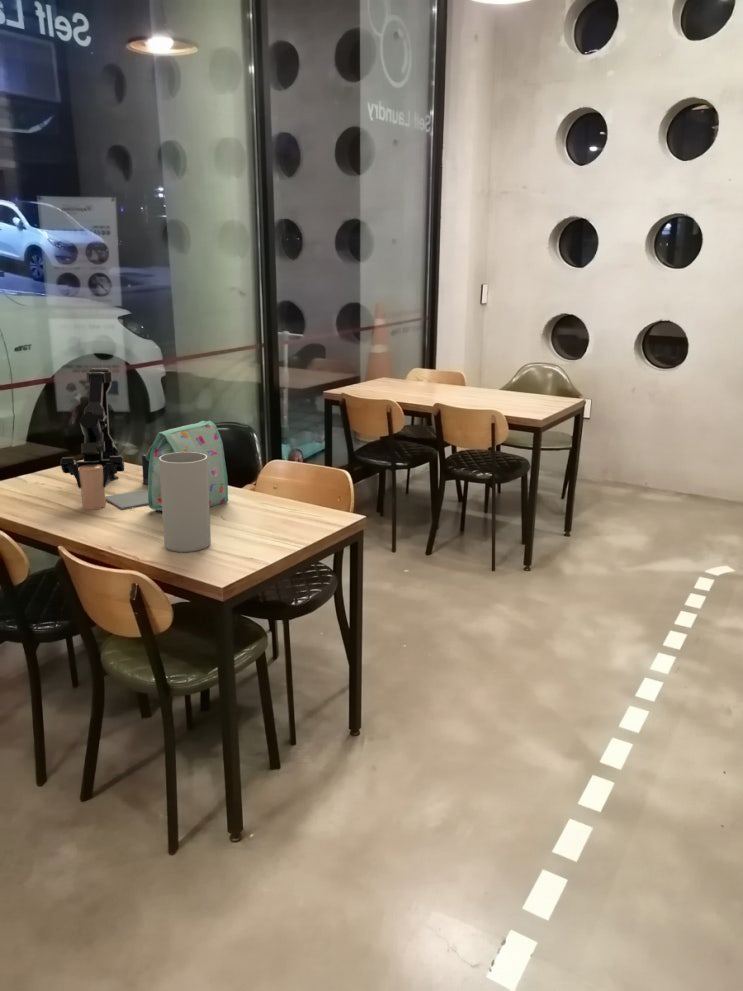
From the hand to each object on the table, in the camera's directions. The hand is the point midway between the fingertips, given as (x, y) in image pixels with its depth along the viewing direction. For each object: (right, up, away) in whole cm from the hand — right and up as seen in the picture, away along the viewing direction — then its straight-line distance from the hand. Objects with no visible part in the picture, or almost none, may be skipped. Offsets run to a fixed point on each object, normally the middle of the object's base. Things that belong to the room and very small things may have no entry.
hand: (91, 487), depth 242 cm
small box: (+12, +2, +33) cm, 35 cm away
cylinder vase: (+37, -16, -29) cm, 50 cm away
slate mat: (+10, -4, +11) cm, 15 cm away
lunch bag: (+30, -6, +5) cm, 31 cm away
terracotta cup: (0, -6, +3) cm, 7 cm away
